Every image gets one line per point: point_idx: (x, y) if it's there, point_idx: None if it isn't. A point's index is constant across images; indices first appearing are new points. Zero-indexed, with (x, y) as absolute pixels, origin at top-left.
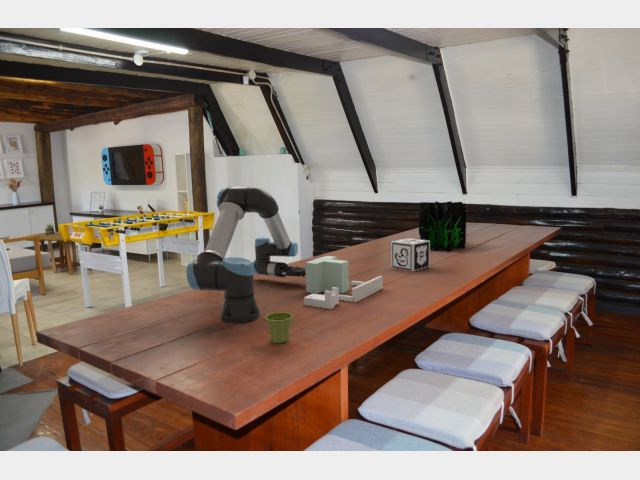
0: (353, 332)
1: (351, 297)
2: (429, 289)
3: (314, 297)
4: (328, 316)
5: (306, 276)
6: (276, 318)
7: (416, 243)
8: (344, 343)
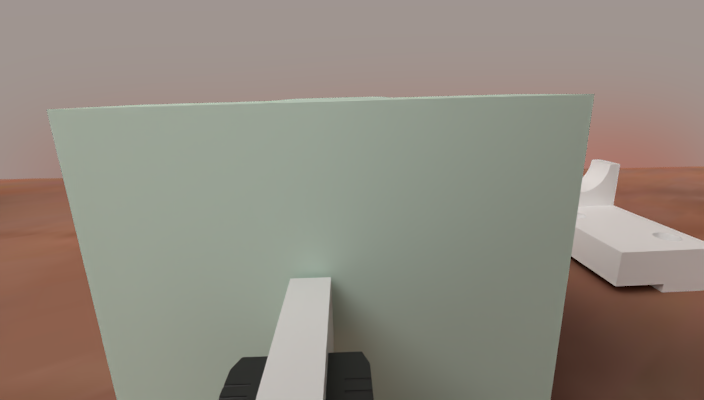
0: (625, 177)
1: None
2: None
3: (645, 229)
4: (639, 212)
5: (562, 271)
6: None
7: None
8: (677, 172)
